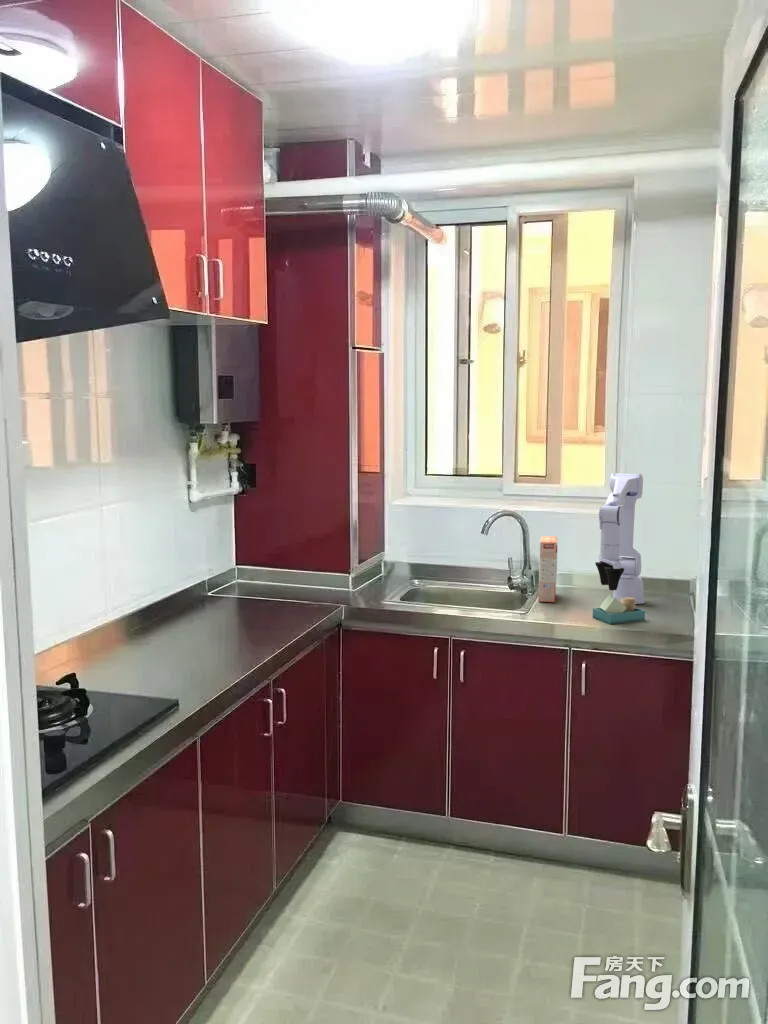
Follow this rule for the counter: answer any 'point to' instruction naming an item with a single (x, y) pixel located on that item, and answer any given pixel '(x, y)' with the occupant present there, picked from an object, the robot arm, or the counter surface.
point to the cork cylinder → (628, 604)
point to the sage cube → (612, 605)
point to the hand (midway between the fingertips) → (608, 587)
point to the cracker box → (548, 569)
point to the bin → (618, 616)
